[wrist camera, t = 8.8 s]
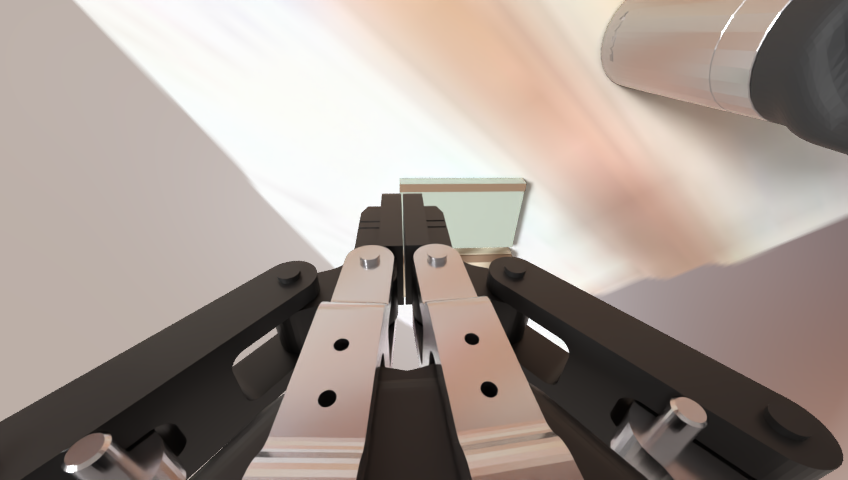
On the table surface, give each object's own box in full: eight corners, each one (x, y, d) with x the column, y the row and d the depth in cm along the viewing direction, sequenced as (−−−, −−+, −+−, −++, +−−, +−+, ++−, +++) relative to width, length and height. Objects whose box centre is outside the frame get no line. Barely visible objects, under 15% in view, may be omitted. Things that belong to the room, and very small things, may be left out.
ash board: (508, 247, 47) (512, 254, 46) (500, 287, 51) (503, 294, 50) (400, 249, 46) (400, 256, 44) (400, 290, 50) (400, 298, 49)
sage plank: (522, 178, 41) (526, 183, 40) (508, 241, 47) (512, 247, 45) (399, 178, 40) (399, 183, 39) (400, 243, 45) (400, 249, 44)
